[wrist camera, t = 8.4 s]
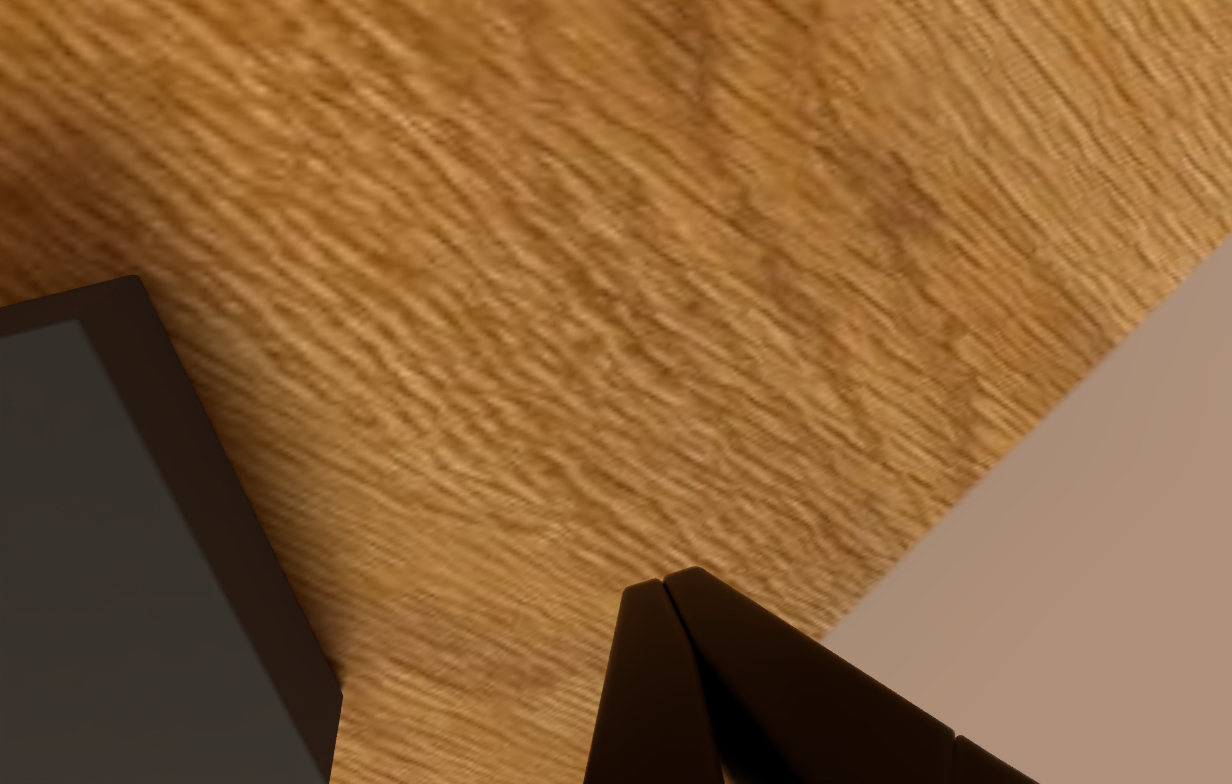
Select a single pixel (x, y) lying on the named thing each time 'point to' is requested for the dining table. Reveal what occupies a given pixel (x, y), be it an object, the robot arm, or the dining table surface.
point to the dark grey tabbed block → (138, 570)
